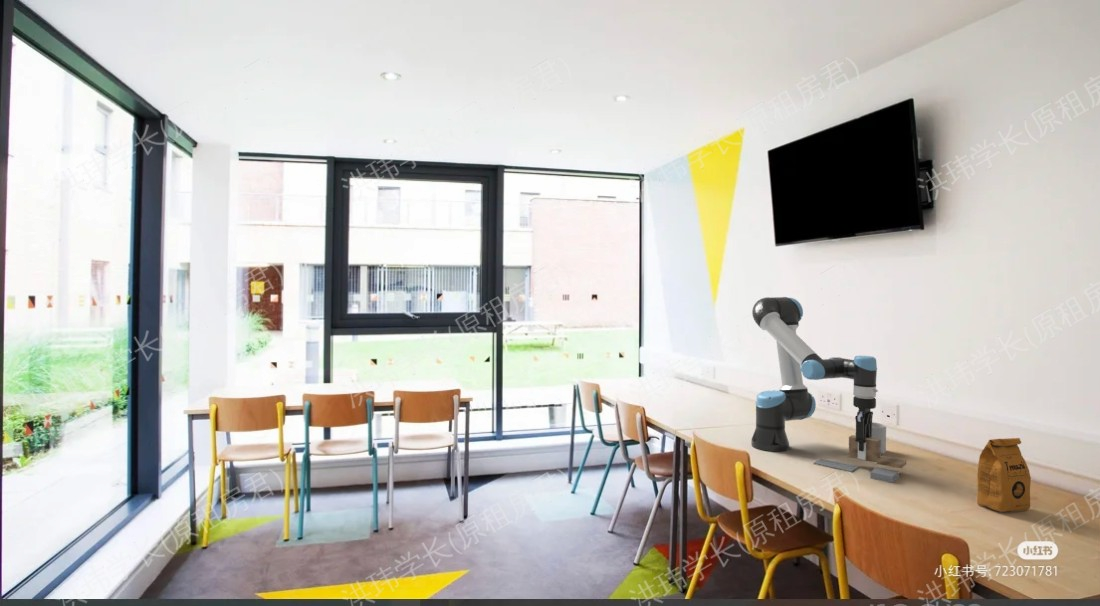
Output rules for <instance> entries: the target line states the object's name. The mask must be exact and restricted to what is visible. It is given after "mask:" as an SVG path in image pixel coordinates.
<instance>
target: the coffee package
mask: <svg viewBox="0 0 1100 606" xmlns="http://www.w3.org/2000/svg"><path fill="white" fill-rule="evenodd" d="M1021 444H1022V441H1021V438H1019V437H1016V438H1015V437H1012V438H1010V437H1009V438H994V439H993V438H991V439H989V440H988V442H987V443H986V444H985V445H984V448H983V449H982V451H981V453H980V454H979V458H978V464H977V465H978V466H977V475H976V476H977V480H976V481H977V485H976V487H977V491H976V493H977V497H976V498H977V501H976V502H977V505H978V506H981V507H982V506H983V507H985V508H989V509H991V510H993V511H997V512H1000V513H1003V512H1024V511H1025V510H1027V511H1029V509H1030V508H1031V481H1032V480H1031V473H1030V469H1029V467H1028V464H1027V462H1026V460H1025V458H1024V457H1023V454H1022V451H1021V449H1020V447H1019V446H1018V445H1021ZM1025 512H1026V511H1025Z"/></svg>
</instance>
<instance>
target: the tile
mask: <svg viewBox="0 0 1100 606" xmlns="http://www.w3.org/2000/svg"><path fill="white" fill-rule="evenodd" d="M869 478H870V479H872V480H878V481H881V482H887V483H891V484H893V483H894V482H895V481H896V480H897V479H899V471H898V470H893V469H888V468H884V467H879V466H876V467H875V468H874V469H872V470H871V471H870V475H869Z"/></svg>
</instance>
